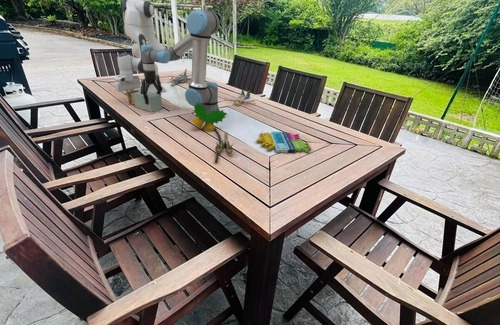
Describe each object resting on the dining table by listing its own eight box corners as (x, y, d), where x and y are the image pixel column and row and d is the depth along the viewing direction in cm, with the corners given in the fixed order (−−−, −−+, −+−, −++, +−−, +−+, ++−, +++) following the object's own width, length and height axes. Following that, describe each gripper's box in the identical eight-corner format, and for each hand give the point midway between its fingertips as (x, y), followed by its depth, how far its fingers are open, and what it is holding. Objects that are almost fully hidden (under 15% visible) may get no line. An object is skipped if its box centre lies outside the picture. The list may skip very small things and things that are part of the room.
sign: (313, 150, 142) (258, 149, 139) (312, 153, 143) (258, 152, 140) (301, 132, 164) (254, 130, 161) (301, 134, 165) (254, 133, 162)
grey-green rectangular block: (135, 106, 192) (133, 93, 187) (146, 103, 199) (144, 90, 194) (151, 112, 184) (149, 97, 179) (162, 108, 192) (161, 94, 187)
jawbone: (234, 135, 144) (233, 125, 135) (233, 160, 138) (232, 151, 129) (217, 135, 144) (216, 125, 135) (216, 160, 138) (214, 150, 129)
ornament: (218, 133, 171) (224, 110, 169) (221, 134, 163) (227, 111, 161) (186, 125, 162) (192, 101, 160) (189, 126, 155) (195, 101, 153)
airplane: (161, 78, 276) (160, 68, 271) (190, 77, 289) (190, 67, 284) (170, 88, 248) (168, 77, 243) (201, 85, 261) (201, 75, 256)
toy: (261, 91, 228) (254, 99, 202) (261, 99, 231) (253, 108, 205) (231, 87, 233) (220, 95, 207) (230, 95, 236) (219, 104, 210)
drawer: (123, 101, 198) (121, 90, 194) (133, 99, 205) (131, 88, 200) (143, 107, 188) (141, 96, 184) (153, 105, 195) (151, 94, 191)
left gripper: (135, 74, 201) (138, 92, 208) (111, 78, 185) (115, 97, 192) (141, 75, 198) (144, 94, 205) (117, 79, 183) (120, 99, 189)
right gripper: (158, 67, 186) (161, 98, 197) (131, 71, 169) (136, 104, 180) (166, 68, 183) (168, 100, 194) (139, 73, 166) (143, 107, 177)
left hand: (129, 95), depth 198 cm, fingers closed, pressing on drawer
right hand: (153, 102), depth 187 cm, fingers closed on grey-green rectangular block, 10 cm apart
